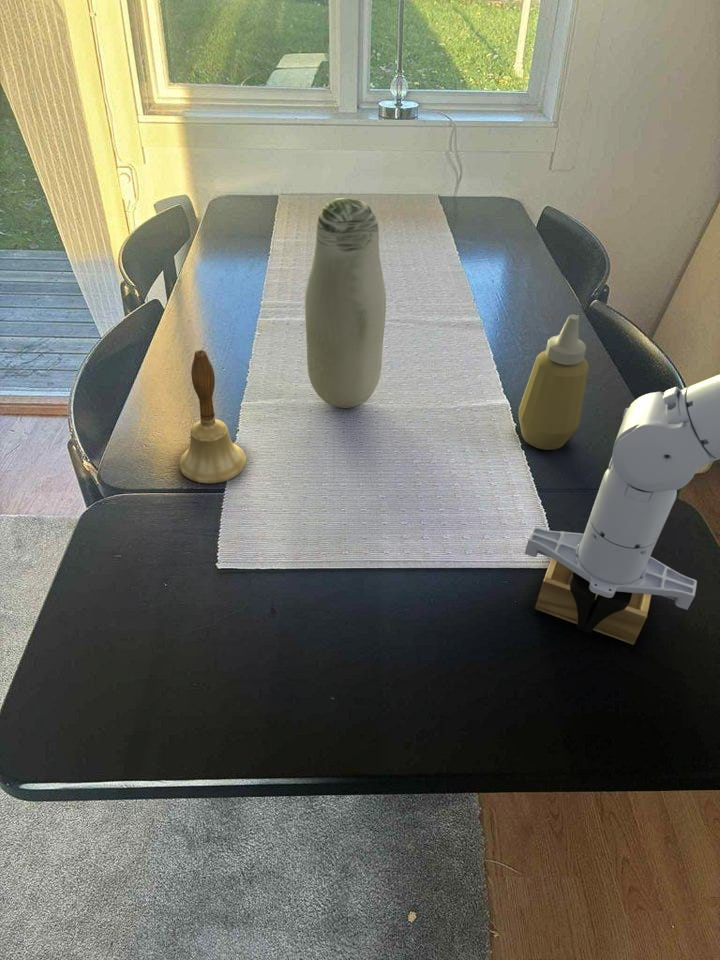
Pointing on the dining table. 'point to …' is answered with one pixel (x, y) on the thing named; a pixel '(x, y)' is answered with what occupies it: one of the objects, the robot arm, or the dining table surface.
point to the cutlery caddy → (563, 605)
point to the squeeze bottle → (555, 390)
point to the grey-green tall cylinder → (345, 304)
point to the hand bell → (209, 434)
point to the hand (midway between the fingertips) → (585, 623)
